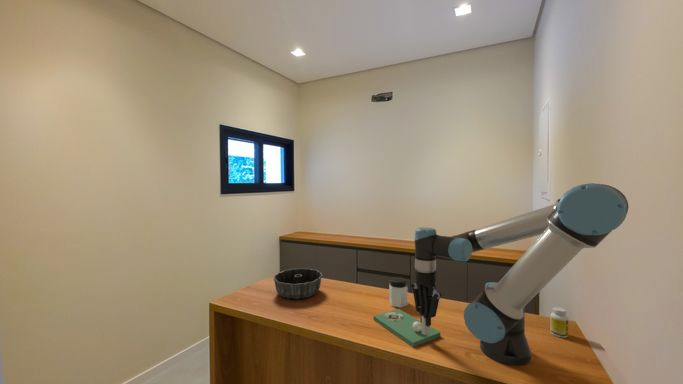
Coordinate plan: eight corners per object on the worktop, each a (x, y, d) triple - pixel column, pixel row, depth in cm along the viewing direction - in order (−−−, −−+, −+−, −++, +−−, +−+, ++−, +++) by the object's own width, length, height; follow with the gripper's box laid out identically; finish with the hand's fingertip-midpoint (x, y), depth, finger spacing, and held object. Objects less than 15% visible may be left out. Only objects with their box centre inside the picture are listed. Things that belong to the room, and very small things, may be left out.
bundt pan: (320, 303, 139) (320, 283, 138) (267, 303, 139) (267, 283, 139) (324, 284, 165) (324, 268, 165) (280, 285, 165) (279, 268, 165)
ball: (424, 332, 106) (424, 322, 106) (417, 334, 104) (417, 325, 104) (417, 328, 109) (417, 319, 109) (410, 330, 108) (410, 321, 108)
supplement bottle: (569, 339, 103) (569, 313, 102) (551, 335, 106) (551, 310, 105) (567, 333, 107) (567, 308, 107) (549, 329, 110) (549, 304, 110)
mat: (440, 336, 106) (440, 332, 106) (413, 347, 99) (413, 342, 99) (398, 312, 127) (398, 308, 127) (373, 319, 120) (373, 316, 120)
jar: (397, 309, 130) (397, 283, 130) (385, 303, 137) (385, 279, 137) (411, 304, 135) (410, 280, 135) (399, 299, 142) (398, 275, 142)
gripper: (446, 273, 99) (447, 338, 99) (419, 264, 110) (420, 323, 111) (431, 276, 95) (432, 344, 96) (405, 267, 106) (405, 328, 107)
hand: (425, 333), depth 103 cm, fingers closed
